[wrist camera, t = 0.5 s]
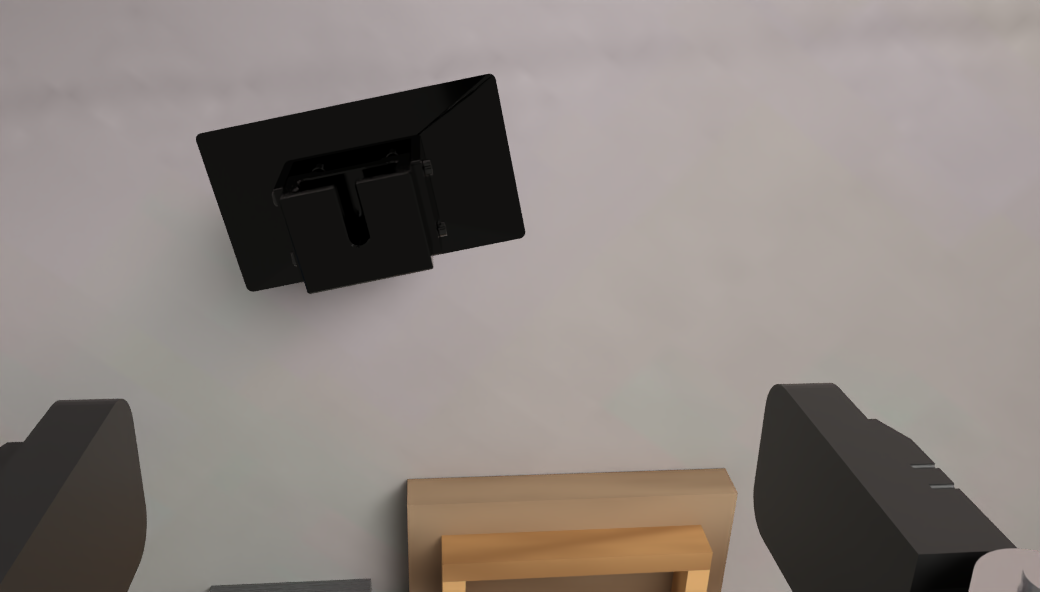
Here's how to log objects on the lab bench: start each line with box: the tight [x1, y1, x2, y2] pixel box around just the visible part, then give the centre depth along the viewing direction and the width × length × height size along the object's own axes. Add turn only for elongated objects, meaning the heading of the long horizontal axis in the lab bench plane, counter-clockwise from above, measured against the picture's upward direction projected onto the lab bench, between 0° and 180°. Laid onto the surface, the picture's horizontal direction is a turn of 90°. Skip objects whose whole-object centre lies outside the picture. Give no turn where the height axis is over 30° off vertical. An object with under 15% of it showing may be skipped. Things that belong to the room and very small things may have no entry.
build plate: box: [196, 74, 525, 294], centre depth 27 cm, size 12×7×5 cm, turn 100°
